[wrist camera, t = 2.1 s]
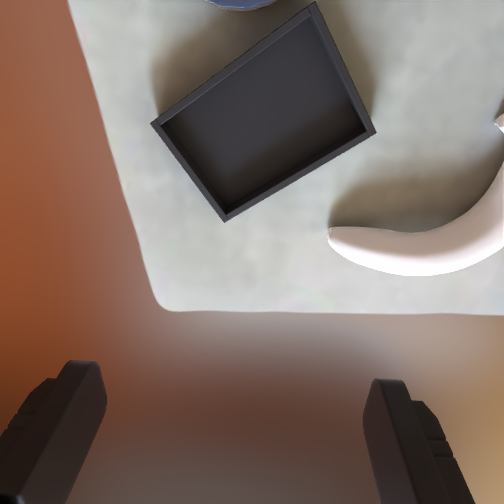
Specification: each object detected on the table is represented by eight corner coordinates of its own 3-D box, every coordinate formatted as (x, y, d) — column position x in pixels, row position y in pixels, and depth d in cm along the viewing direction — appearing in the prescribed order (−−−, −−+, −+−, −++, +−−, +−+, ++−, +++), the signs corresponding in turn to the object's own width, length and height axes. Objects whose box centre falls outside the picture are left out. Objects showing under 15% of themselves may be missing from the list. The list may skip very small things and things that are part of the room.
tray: (311, 3, 27) (315, 0, 25) (369, 127, 32) (377, 133, 30) (157, 117, 32) (149, 123, 30) (226, 212, 36) (224, 223, 34)
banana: (329, 270, 39) (314, 132, 32) (513, 240, 38) (540, 87, 30) (339, 297, 35) (324, 145, 28) (547, 264, 33) (588, 93, 26)
